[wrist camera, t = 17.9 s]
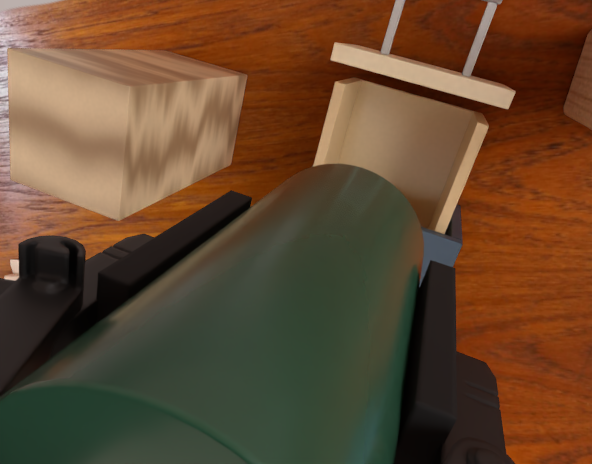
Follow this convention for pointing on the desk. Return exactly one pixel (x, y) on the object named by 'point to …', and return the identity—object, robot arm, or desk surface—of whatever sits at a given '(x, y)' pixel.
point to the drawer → (410, 123)
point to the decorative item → (581, 88)
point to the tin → (246, 343)
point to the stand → (118, 124)
